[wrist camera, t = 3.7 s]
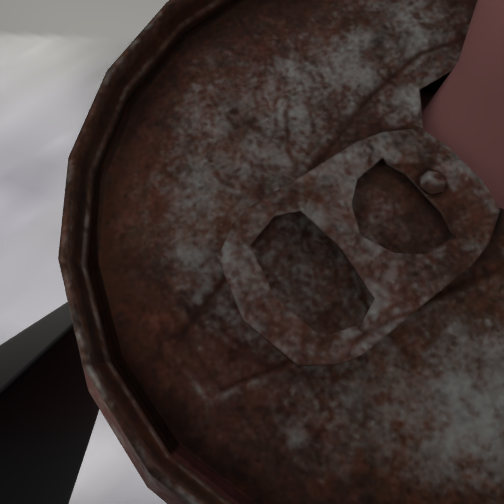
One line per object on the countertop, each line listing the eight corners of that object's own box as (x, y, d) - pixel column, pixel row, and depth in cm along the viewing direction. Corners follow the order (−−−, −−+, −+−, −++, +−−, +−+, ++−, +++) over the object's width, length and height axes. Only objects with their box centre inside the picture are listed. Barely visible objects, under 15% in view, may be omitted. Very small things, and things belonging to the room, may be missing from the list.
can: (415, 284, 17) (883, -82, 4) (372, 462, 16) (916, 918, 2) (257, 239, 18) (184, -189, 5) (203, 403, 17) (-147, 473, 3)
